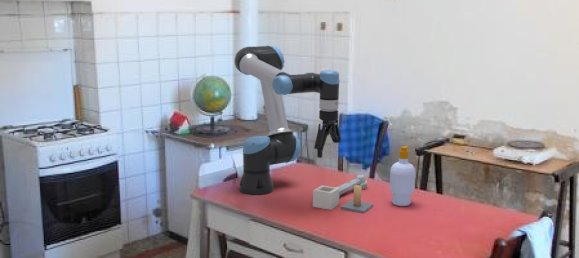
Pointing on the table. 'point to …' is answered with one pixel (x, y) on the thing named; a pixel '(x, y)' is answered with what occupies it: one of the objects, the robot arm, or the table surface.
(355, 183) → the toothbrush head
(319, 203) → the nut
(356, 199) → the peg on square base
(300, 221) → the table surface
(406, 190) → the soap bottle
